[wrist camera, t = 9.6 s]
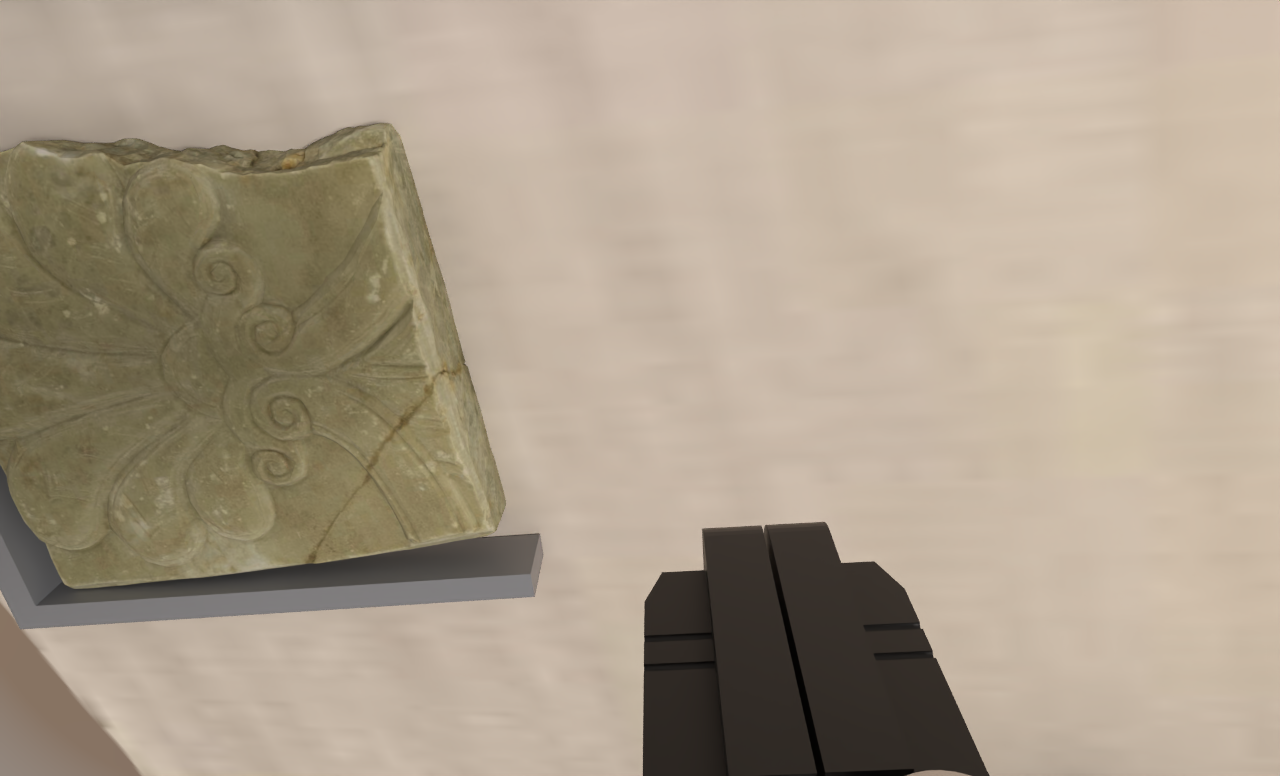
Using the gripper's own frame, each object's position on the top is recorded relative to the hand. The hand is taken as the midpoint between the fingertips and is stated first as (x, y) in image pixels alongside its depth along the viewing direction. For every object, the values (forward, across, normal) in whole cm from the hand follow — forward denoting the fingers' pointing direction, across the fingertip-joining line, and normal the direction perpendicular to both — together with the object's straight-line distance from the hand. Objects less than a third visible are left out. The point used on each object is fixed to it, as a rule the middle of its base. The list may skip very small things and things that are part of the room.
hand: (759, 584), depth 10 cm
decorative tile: (+23, +20, +5) cm, 31 cm away
